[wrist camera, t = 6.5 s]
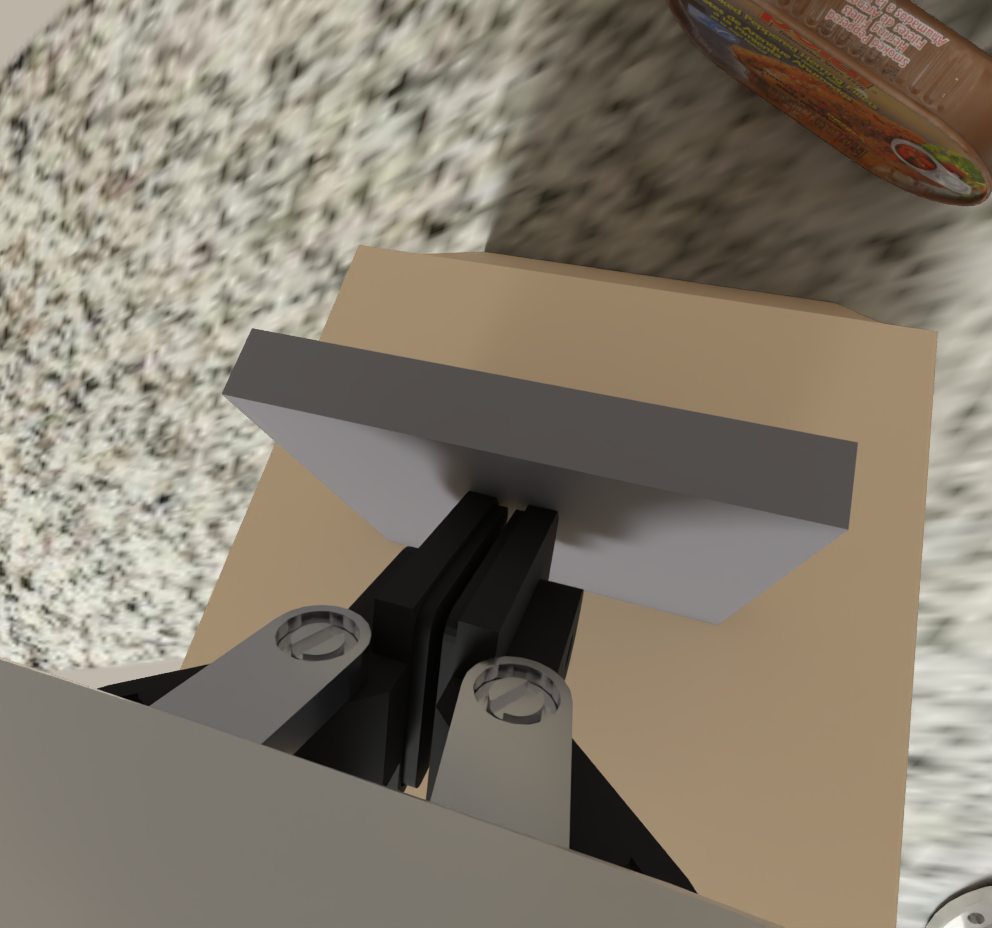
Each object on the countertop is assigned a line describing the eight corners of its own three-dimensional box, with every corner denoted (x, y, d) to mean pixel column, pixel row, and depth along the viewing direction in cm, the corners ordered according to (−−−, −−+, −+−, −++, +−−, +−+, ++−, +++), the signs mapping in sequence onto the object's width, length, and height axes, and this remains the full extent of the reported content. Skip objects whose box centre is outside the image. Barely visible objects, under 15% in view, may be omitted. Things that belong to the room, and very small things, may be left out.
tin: (664, 30, 30) (655, -41, 23) (709, -41, 29) (715, -142, 21) (933, 217, 30) (1015, 209, 22) (991, 152, 28) (1100, 119, 21)
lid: (866, 1155, 13) (1459, 2095, 4) (118, 849, 17) (-401, 992, 8) (927, 342, 19) (1223, 12, 10) (364, 256, 23) (222, -36, 14)
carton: (739, 614, 38) (761, 800, 25) (451, 542, 42) (345, 671, 29) (833, 302, 32) (925, 341, 19) (483, 251, 36) (367, 256, 23)
